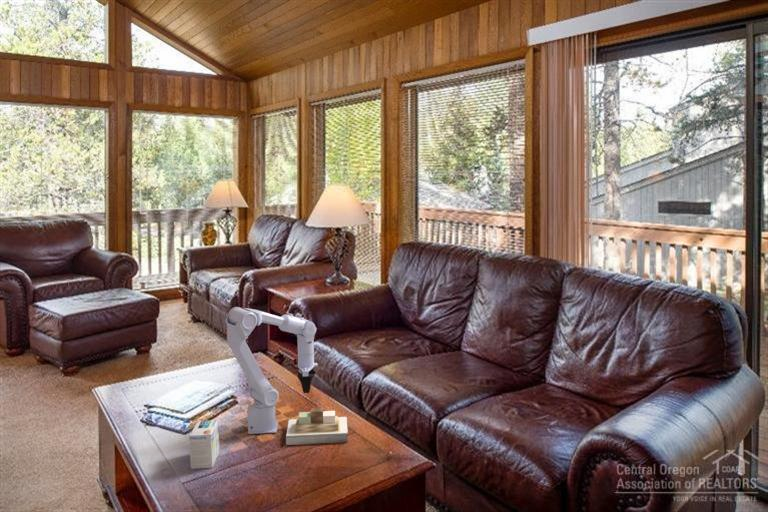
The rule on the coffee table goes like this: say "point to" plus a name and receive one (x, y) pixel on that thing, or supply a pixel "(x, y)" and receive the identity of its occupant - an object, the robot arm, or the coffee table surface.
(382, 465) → the coffee table surface
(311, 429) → the tan stepped block
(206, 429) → the light bulb box
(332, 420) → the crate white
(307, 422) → the block
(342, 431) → the dock
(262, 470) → the coffee table surface
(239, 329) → the robot arm
